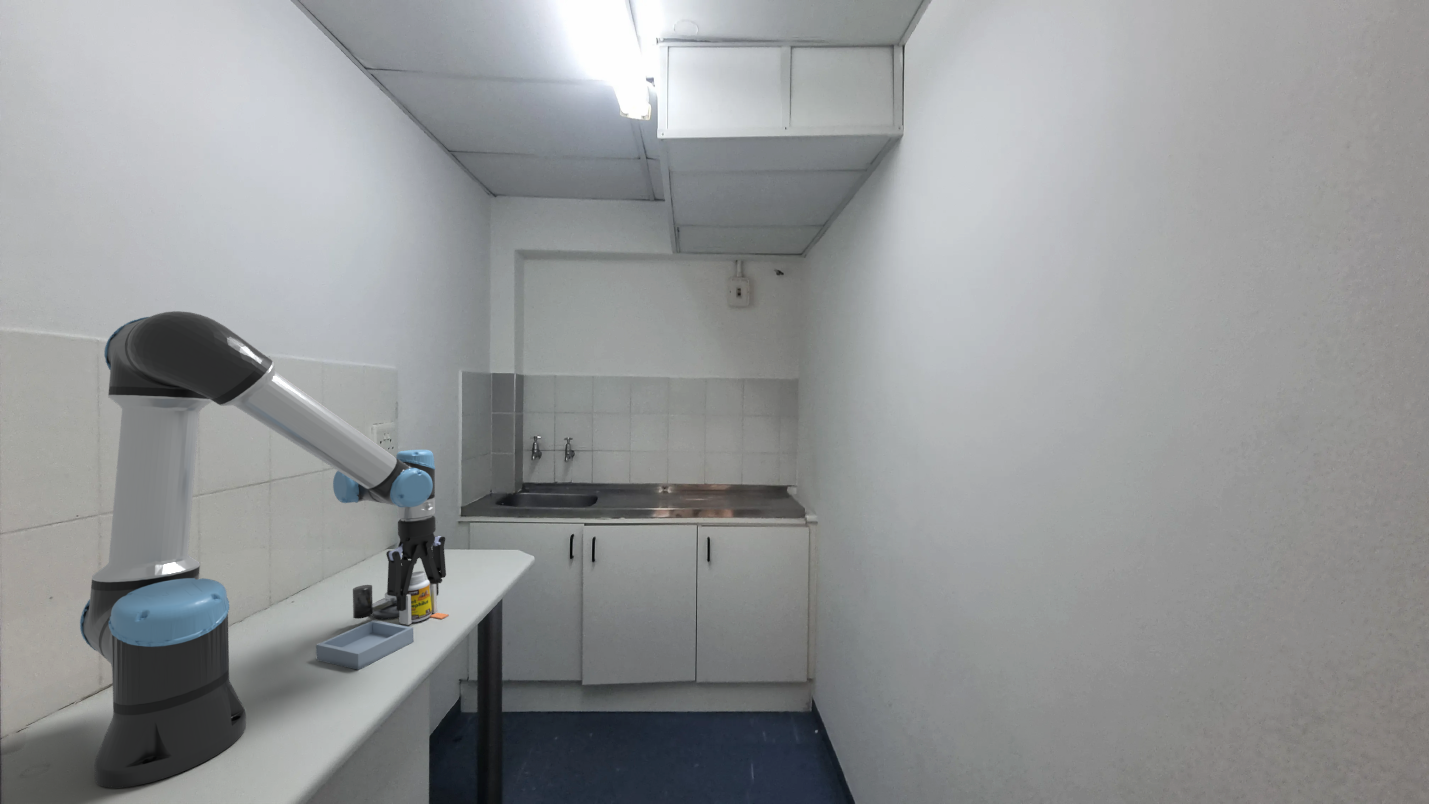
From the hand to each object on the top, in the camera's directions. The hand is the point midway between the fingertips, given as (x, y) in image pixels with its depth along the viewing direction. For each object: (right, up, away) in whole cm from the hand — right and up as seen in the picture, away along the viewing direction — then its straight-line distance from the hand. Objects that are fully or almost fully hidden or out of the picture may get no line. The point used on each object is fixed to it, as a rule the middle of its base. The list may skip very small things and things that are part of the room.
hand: (418, 616), depth 119 cm
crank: (-9, +2, +2) cm, 9 cm away
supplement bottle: (0, 0, 0) cm, 0 cm away
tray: (-2, -1, -15) cm, 15 cm away
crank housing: (-8, 0, +5) cm, 9 cm away
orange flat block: (+4, 0, +1) cm, 4 cm away
